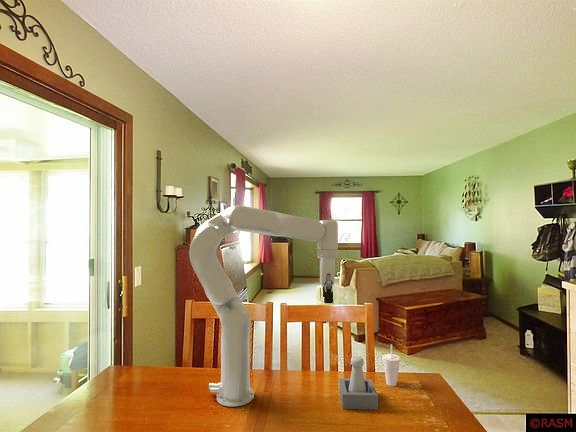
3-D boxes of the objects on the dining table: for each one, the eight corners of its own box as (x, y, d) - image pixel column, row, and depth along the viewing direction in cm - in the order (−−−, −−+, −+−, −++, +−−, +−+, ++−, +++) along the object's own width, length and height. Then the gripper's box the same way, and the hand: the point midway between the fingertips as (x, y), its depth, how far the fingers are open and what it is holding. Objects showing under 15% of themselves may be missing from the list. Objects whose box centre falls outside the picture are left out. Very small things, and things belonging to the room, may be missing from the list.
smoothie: (401, 381, 128) (401, 343, 128) (399, 389, 122) (399, 349, 122) (383, 378, 130) (383, 341, 131) (381, 385, 125) (380, 346, 125)
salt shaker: (366, 402, 111) (366, 362, 112) (348, 400, 113) (348, 360, 113) (365, 393, 117) (365, 355, 117) (348, 391, 118) (348, 353, 118)
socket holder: (342, 408, 110) (342, 394, 110) (339, 391, 121) (339, 378, 121) (378, 409, 109) (377, 395, 109) (371, 392, 120) (371, 379, 120)
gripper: (316, 251, 136) (316, 294, 136) (318, 256, 119) (318, 305, 119) (335, 251, 136) (335, 294, 136) (340, 256, 119) (340, 306, 119)
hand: (327, 299), depth 128 cm, fingers open, 9 cm apart
